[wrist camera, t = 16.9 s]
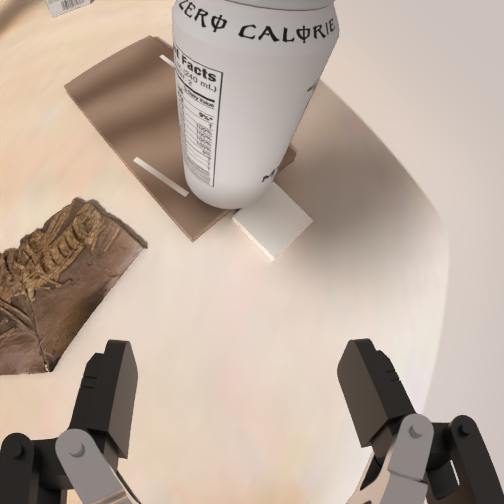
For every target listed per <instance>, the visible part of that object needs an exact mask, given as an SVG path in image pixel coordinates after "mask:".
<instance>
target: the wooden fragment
mask: <svg viewBox="0 0 504 504" xmlns="http://www.w3.org/2000/svg"><path fill="white" fill-rule="evenodd" d="M143 248H146V247H145V246H143V245H142V244H141V243H140V242H139V241H138V240H137V239H136V238H135V237H134V236H133V235H132V234H131V233H130V232H129V231H128V230H127V229H126V228H125V226H124V225H123V224H122V223H121V222H120V221H119V220H117V219H114V218H110V217H106V216H104V215H103V214H101V213H100V212H99V211H98V209H97V208H96V207H95V206H94V205H92V204H90V203H85V204H84V205H83V204H81V203H79V202H78V201H76V200H75V199H73V200H72V203H71V205H69V206H66V207H64V208H63V210H61V211H60V212H58V213H57V214H55V215H53V216H52V217H51V218H50V219H48V220H47V221H46V222H45V223H44V226H43V229H42V230H38V231H37V232H32V233H31V234H30V235H29V236H28V237H26V238H22V239H21V240H20V247H19V250H18V251H14V252H9V251H7V252H5V253H2V254H0V375H19V374H22V373H23V374H25V373H26V374H27V373H28V374H35V373H45V372H52V371H53V370H54V368H55V367H56V364H57V361H58V360H59V359H60V357H61V356H62V354H63V353H64V351H65V350H66V348H67V347H68V346H69V344H70V343H71V341H72V340H73V339H74V337H75V336H76V335H77V333H78V331H79V330H80V329H81V328H82V326H83V324H84V323H85V322H86V321H87V319H88V318H89V317H90V315H91V314H92V313H93V312H94V310H95V309H96V308H97V306H98V305H99V304H100V303H101V301H102V300H103V298H104V297H105V296H106V295H107V293H108V292H109V291H110V289H111V288H112V287H113V286H114V285H115V284H116V282H117V279H119V278H120V277H121V276H122V275H123V273H124V272H125V271H126V269H127V268H128V267H129V265H130V264H131V263H132V261H133V260H134V258H136V256H137V255H138V254H139V252H140V251H141V250H142V249H143ZM147 249H148V248H147ZM44 362H46V363H47V366H48V367H47V368H48V370H49V371H46V369H45V368H46V367H45V364H44Z"/></svg>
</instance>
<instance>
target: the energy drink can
mask: <svg viewBox="0 0 504 504" xmlns="http://www.w3.org/2000/svg"><path fill="white" fill-rule="evenodd" d="M334 1H335V0H176V2H175V4H174V6H173V8H172V27H173V47H174V64H175V78H176V91H177V103H178V115H179V125H180V135H181V145H182V154H183V163H184V171H185V178H186V181H187V184H188V186H189V187H190V189H191V191H192V192H193V193H194V194H195V195H196V196H197V197H198V198H199V199H201V200H202V201H203V202H205V203H207V204H209V205H211V206H214V207H218V208H222V209H238V208H243V207H246V206H250V205H251V204H253V203H255V202H257V201H258V200H260V199H261V198H262V197H263V196H264V195H265V194H266V192H267V191H268V190H269V188H270V186H271V184H272V181H273V179H274V177H275V175H276V173H277V170H278V168H279V166H280V164H281V161H282V159H283V157H284V155H285V153H286V150H287V148H288V146H289V144H290V142H291V139H292V137H293V135H294V133H295V131H296V128H297V126H298V124H299V122H300V120H301V118H302V115H303V113H304V111H305V109H306V107H307V104H308V102H309V100H310V98H311V96H312V94H313V91H314V89H315V87H316V85H317V83H318V81H319V78H320V76H321V74H322V72H323V70H324V67H325V65H326V63H327V61H328V58H329V57H330V55H331V52H332V50H333V48H334V46H335V44H336V42H337V40H338V37H339V24H338V20H337V16H336V12H335V8H334V3H333V2H334Z"/></svg>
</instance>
